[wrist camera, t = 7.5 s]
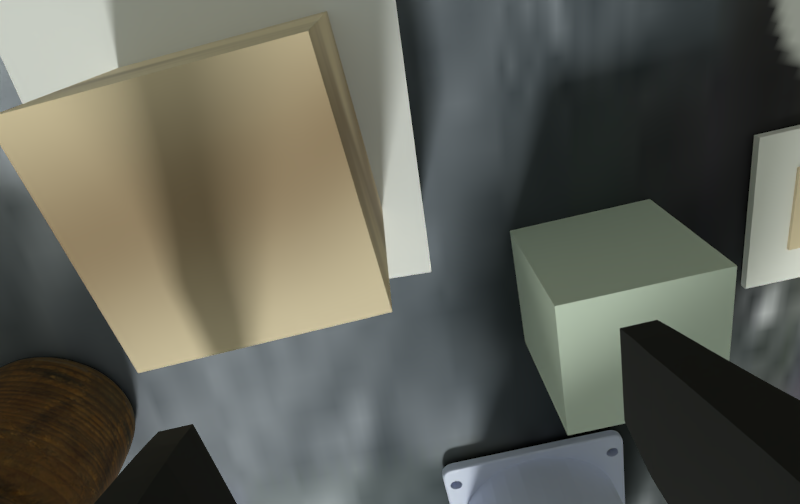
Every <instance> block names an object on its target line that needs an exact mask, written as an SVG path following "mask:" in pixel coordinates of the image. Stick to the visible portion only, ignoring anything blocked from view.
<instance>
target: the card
mask: <svg viewBox="0 0 800 504" xmlns="http://www.w3.org/2000/svg"><path fill="white" fill-rule="evenodd" d="M797 277H800V125H796V126H791V127H787V128H783V129H778V130H774V131H770V132H765V133H761V134H757V135H754V140H753V152H752V163H751V174H750V186H749V197H748V208H747V219H746V231H745V242H744V253H743V264H742V276H741V285H742V286H743V287H744V288H745V289H747V288H752V287H756V286H761V285H765V284H770V283H774V282H779V281H783V280H788V279H793V278H797Z"/></svg>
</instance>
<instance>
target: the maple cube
mask: <svg viewBox="0 0 800 504" xmlns="http://www.w3.org/2000/svg"><path fill="white" fill-rule="evenodd" d="M0 145H1V147H2V149H3V150H4V152H5V154H6V155H7V157H8V159H9V160H10V162H11V164H12V165H13V167H14V169H15V170H16V172H17V174H18V175H19V177H20V178H21V180H22V182H23V183H24V185H25V187H26V188H27V190H28V192H29V193H30V195H31V197H32V198H33V200H34V202H35V203H36V205H37V207H38V208H39V210H40V212H41V213H42V215H43V217H44V218H45V220H46V222H47V223H48V225H49V226H50V228H51V230H52V231H53V233H54V235H55V236H56V238H57V240H58V241H59V243H60V245H61V246H62V248H63V250H64V251H65V253H66V255H67V256H68V258H69V260H70V261H71V263H72V265H73V266H74V268H75V269H76V271H77V273H78V274H79V276H80V278H81V279H82V281H83V283H84V284H85V286H86V288H87V289H88V291H89V293H90V294H91V296H92V298H93V299H94V301H95V303H96V304H97V306H98V308H99V309H100V311H101V313H102V314H103V316H104V317H105V319H106V321H107V322H108V324H109V326H110V327H111V329H112V331H113V332H114V334H115V336H116V337H117V339H118V341H119V342H120V344H121V346H122V347H123V349H124V351H125V352H126V354H127V356H128V357H129V359H130V360H131V362H132V364H133V365H134V367H135V369H136V370H137V372H138V373H141V372H145V371H149V370H153V369H158V368H162V367H166V366H170V365H174V364H178V363H182V362H187V361H191V360H195V359H199V358H203V357H207V356H211V355H216V354H220V353H224V352H228V351H232V350H236V349H240V348H245V347H249V346H253V345H257V344H261V343H265V342H269V341H273V340H278V339H282V338H286V337H290V336H294V335H298V334H302V333H307V332H311V331H315V330H319V329H323V328H327V327H331V326H336V325H340V324H344V323H348V322H352V321H356V320H360V319H365V318H369V317H373V316H377V315H381V314H385V313H389V312H392V304H391V293H390V283H389V273H388V263H387V252H386V242H385V232H384V221H383V211H382V206H381V203H380V199H379V195H378V192H377V188H376V185H375V181H374V178H373V174H372V170H371V167H370V163H369V160H368V156H367V153H366V149H365V145H364V142H363V138H362V135H361V131H360V128H359V124H358V120H357V117H356V113H355V110H354V106H353V103H352V99H351V95H350V92H349V88H348V85H347V81H346V78H345V74H344V70H343V67H342V63H341V60H340V56H339V53H338V49H337V45H336V42H335V38H334V35H333V31H332V28H331V24H330V20H329V17H328V13H327V11H325V12H322V13H318V14H314V15H311V16H307V17H303V18H300V19H296V20H292V21H289V22H285V23H281V24H278V25H274V26H270V27H267V28H263V29H259V30H256V31H252V32H248V33H245V34H241V35H237V36H233V37H230V38H226V39H222V40H219V41H215V42H211V43H208V44H204V45H200V46H197V47H193V48H189V49H186V50H182V51H178V52H175V53H171V54H167V55H164V56H160V57H156V58H153V59H149V60H145V61H142V62H138V63H134V64H131V65H127V66H123V67H120V68H117V69H114V70H111V71H109V72H106V73H103V74H101V75H98V76H95V77H93V78H90V79H87V80H85V81H82V82H80V83H77V84H74V85H72V86H69V87H66V88H64V89H61V90H58V91H56V92H53V93H50V94H48V95H45V96H42V97H40V98H37V99H35V100H32V101H29V102H27V103H24V104H21V105H19V106H16V107H13V108H11V109H8V110H5V111H3V112H0Z"/></svg>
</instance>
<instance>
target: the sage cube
mask: <svg viewBox="0 0 800 504" xmlns="http://www.w3.org/2000/svg"><path fill="white" fill-rule="evenodd" d="M510 236H511V244H512V251H513V258H514V266H515V273H516V280H517V287H518V295H519V302H520V309H521V316H522V324H523V331H524V338H525V343H526V345H527V347H528V349H529V352H530V354H531V356H532V358H533V360H534V363H535V365H536V367H537V369H538V371H539V374H540V376H541V378H542V380H543V382H544V385H545V387H546V389H547V391H548V393H549V395H550V398H551V400H552V402H553V404H554V406H555V409H556V411H557V413H558V415H559V417H560V420H561V422H562V424H563V426H564V428H565V430H566V433H567V435H573V434H578V433H582V432H587V431H592V430H597V429H601V428H606V427H611V426H615V425H620V424H625V421H624V403H623V384H622V364H621V345H620V328H623V327H627V326H632V325H636V324H641V323H645V322H650V321H654V320H659V321H661V322H662V323H664V324H666V325H668V326H669V327H671V328H673V329H675V330H676V331H678V332H680V333H682V334H683V335H685V336H687V337H688V338H690V339H692V340H694V341H695V342H697V343H699V344H700V345H702V346H704V347H706V348H707V349H709V350H711V351H712V352H714V353H716V354H718V355H719V356H721V357H723V358H725V359H726V360H728V361H729V357H730V345H731V334H732V322H733V310H734V298H735V286H736V275H737V265H735V264H734V263H733V262H732V261H730V260H729V259H728V258H726V257H725V256H724V255H722V254H721V253H720V252H718V251H717V250H716V249H715V248H713V247H712V246H711V245H709V244H708V243H707V242H705V241H704V240H703V239H701V238H700V237H699V236H698V235H696V234H695V233H694V232H692V231H691V230H690V229H688V228H687V227H686V226H684V225H683V224H682V223H681V222H679V221H678V220H677V219H675V218H674V217H673V216H671V215H670V214H669V213H667V212H666V211H665V210H664V209H662V208H661V207H660V206H658V205H657V204H656V203H654V202H653V201H652V200H650V199H647V200H643V201H638V202H634V203H630V204H625V205H621V206H616V207H612V208H608V209H603V210H599V211H594V212H590V213H586V214H581V215H577V216H572V217H568V218H564V219H559V220H555V221H550V222H546V223H542V224H537V225H533V226H528V227H524V228H520V229H515V230H511V231H510Z"/></svg>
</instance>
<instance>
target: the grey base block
mask: <svg viewBox="0 0 800 504" xmlns="http://www.w3.org/2000/svg"><path fill="white" fill-rule="evenodd" d="M325 11H327V13H328V17H329V20H330V24H331V28H332V31H333V35H334V38H335V42H336V45H337V49H338V53H339V56H340V60H341V63H342V67H343V70H344V74H345V78H346V81H347V85H348V88H349V92H350V95H351V99H352V103H353V106H354V110H355V113H356V117H357V120H358V124H359V128H360V131H361V135H362V138H363V142H364V145H365V149H366V153H367V156H368V160H369V163H370V167H371V170H372V174H373V178H374V181H375V185H376V188H377V192H378V195H379V199H380V203H381V206H382V211H383V221H384V232H385V242H386V252H387V263H388V273H389V278H396V277H402V276H408V275H415V274H421V273H427V272H431V264H430V257H429V249H428V242H427V234H426V227H425V219H424V212H423V204H422V196H421V189H420V181H419V174H418V166H417V159H416V151H415V144H414V136H413V129H412V121H411V113H410V106H409V98H408V91H407V83H406V76H405V68H404V61H403V53H402V45H401V38H400V30H399V23H398V15H397V8H396V0H0V56H1V58H2V60H3V62H4V65H5V67H6V69H7V71H8V73H9V75H10V78H11V80H12V82H13V84H14V86H15V88H16V91H17V93H18V95H19V97H20V99H21V102H22V104H24V103H27V102H29V101H32V100H35V99H37V98H40V97H42V96H45V95H48V94H50V93H53V92H56V91H58V90H61V89H64V88H66V87H69V86H72V85H74V84H77V83H80V82H82V81H85V80H87V79H90V78H93V77H95V76H98V75H101V74H103V73H106V72H109V71H111V70H114V69H117V68H120V67H123V66H127V65H131V64H134V63H138V62H142V61H145V60H149V59H153V58H156V57H160V56H164V55H167V54H171V53H175V52H178V51H182V50H186V49H189V48H193V47H197V46H200V45H204V44H208V43H211V42H215V41H219V40H222V39H226V38H230V37H233V36H237V35H241V34H245V33H248V32H252V31H256V30H259V29H263V28H267V27H270V26H274V25H278V24H281V23H285V22H289V21H292V20H296V19H300V18H303V17H307V16H311V15H314V14H318V13H322V12H325Z"/></svg>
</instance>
